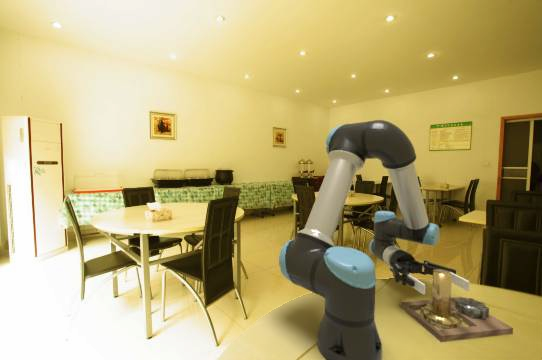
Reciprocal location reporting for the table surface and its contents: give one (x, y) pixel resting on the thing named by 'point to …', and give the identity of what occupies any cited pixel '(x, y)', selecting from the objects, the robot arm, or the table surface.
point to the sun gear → (472, 308)
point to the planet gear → (441, 303)
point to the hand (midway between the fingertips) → (446, 287)
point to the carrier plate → (476, 330)
